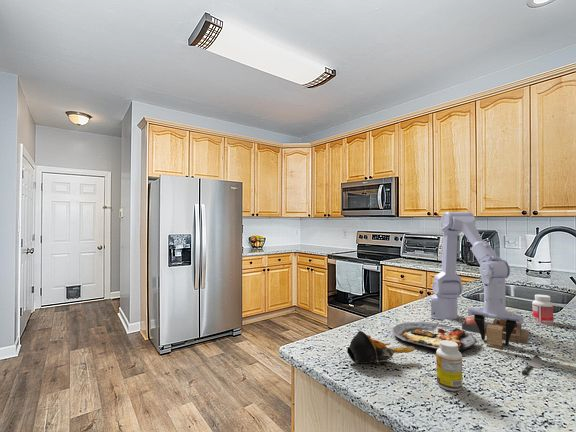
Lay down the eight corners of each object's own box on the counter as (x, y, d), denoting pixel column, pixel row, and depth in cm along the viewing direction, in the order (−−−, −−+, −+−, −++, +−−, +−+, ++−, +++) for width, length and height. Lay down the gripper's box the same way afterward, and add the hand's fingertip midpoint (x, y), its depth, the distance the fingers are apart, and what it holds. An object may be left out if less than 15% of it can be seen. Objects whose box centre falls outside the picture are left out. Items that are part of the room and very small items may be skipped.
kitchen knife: (549, 358, 91) (536, 354, 93) (549, 354, 91) (536, 350, 93) (535, 380, 78) (520, 375, 80) (535, 376, 78) (521, 371, 80)
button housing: (462, 331, 111) (461, 323, 111) (465, 327, 116) (465, 319, 116) (481, 335, 107) (481, 327, 107) (484, 330, 112) (484, 322, 112)
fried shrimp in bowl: (338, 339, 92) (387, 314, 97) (355, 378, 89) (405, 349, 94) (348, 339, 83) (402, 311, 89) (368, 381, 80) (422, 350, 86)
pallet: (482, 338, 105) (482, 328, 105) (488, 325, 117) (488, 317, 117) (527, 347, 97) (527, 337, 97) (528, 332, 110) (528, 323, 110)
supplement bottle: (440, 377, 79) (439, 337, 79) (464, 385, 75) (464, 342, 75) (433, 386, 75) (433, 343, 75) (459, 395, 71) (459, 349, 71)
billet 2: (499, 329, 110) (499, 312, 110) (500, 326, 113) (500, 310, 113) (513, 332, 108) (513, 314, 108) (514, 329, 111) (514, 312, 111)
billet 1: (486, 346, 98) (486, 327, 98) (488, 342, 101) (488, 324, 101) (502, 349, 96) (501, 330, 96) (503, 345, 99) (503, 326, 99)
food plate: (483, 338, 104) (483, 328, 104) (465, 362, 87) (464, 350, 87) (409, 324, 121) (408, 314, 122) (381, 341, 104) (381, 331, 104)
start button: (464, 327, 111) (464, 319, 111) (467, 324, 114) (467, 316, 114) (479, 330, 108) (479, 321, 108) (481, 326, 112) (481, 318, 112)
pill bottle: (556, 325, 117) (555, 296, 117) (550, 328, 114) (549, 298, 114) (536, 321, 123) (535, 293, 123) (529, 324, 119) (529, 295, 119)
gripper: (466, 297, 100) (466, 339, 100) (522, 304, 91) (523, 351, 91) (469, 293, 106) (470, 333, 105) (523, 300, 96) (524, 344, 96)
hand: (494, 341), depth 98 cm, fingers open, 6 cm apart
